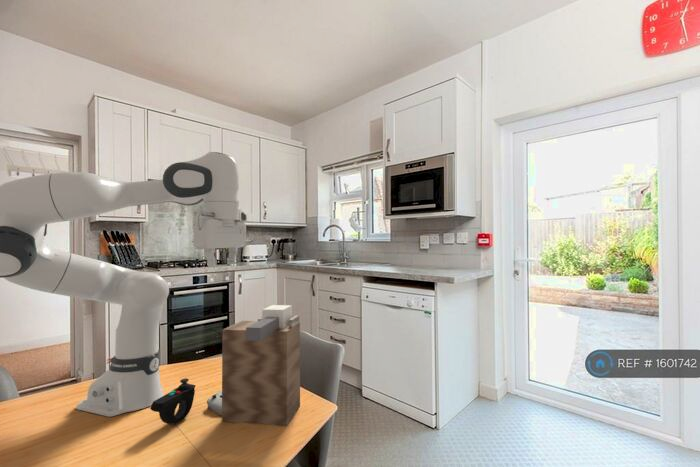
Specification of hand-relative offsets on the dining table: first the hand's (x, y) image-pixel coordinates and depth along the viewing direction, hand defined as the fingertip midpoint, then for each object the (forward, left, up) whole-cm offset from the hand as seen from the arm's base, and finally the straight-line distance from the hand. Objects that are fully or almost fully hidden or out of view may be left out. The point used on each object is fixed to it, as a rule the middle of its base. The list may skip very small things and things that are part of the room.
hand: (222, 265), depth 89 cm
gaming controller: (-4, +9, -42) cm, 43 cm away
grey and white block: (+13, +1, -17) cm, 22 cm away
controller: (-12, -2, -41) cm, 43 cm away
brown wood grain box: (+9, +6, -41) cm, 43 cm away
